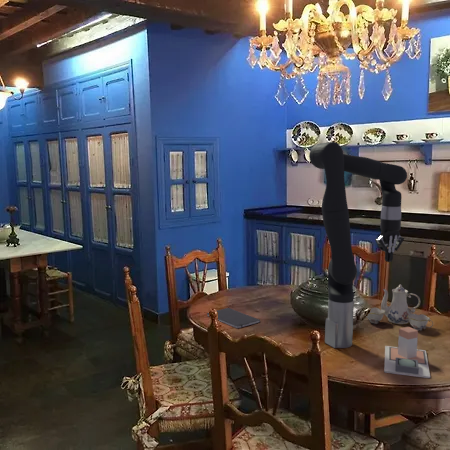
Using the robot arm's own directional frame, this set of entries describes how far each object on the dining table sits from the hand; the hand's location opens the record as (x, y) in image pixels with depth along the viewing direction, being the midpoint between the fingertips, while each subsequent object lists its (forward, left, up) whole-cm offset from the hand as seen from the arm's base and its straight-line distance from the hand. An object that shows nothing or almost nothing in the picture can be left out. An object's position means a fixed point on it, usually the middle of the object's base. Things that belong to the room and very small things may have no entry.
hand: (388, 261), depth 199 cm
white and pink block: (-10, -22, -28) cm, 37 cm away
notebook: (-48, +41, -30) cm, 70 cm away
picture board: (-13, -25, -29) cm, 41 cm away
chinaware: (+12, +7, -29) cm, 33 cm away
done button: (-18, -30, -28) cm, 45 cm away
